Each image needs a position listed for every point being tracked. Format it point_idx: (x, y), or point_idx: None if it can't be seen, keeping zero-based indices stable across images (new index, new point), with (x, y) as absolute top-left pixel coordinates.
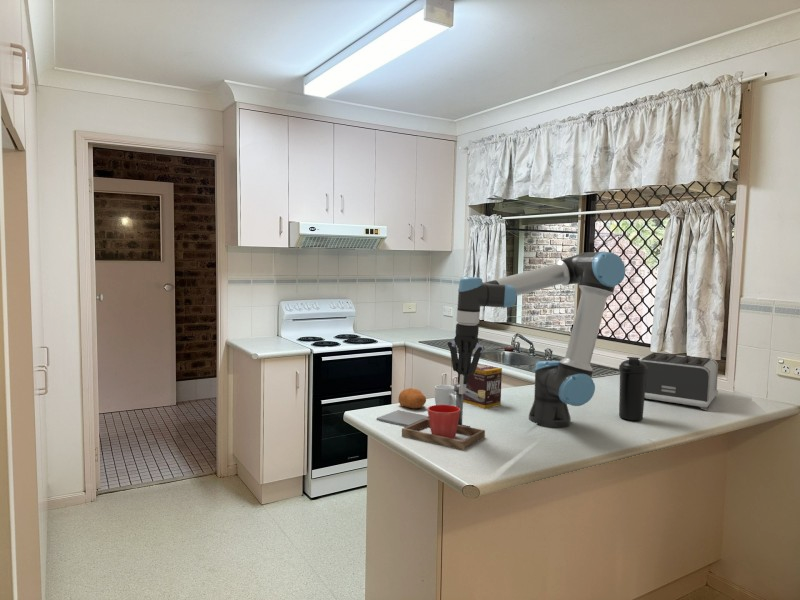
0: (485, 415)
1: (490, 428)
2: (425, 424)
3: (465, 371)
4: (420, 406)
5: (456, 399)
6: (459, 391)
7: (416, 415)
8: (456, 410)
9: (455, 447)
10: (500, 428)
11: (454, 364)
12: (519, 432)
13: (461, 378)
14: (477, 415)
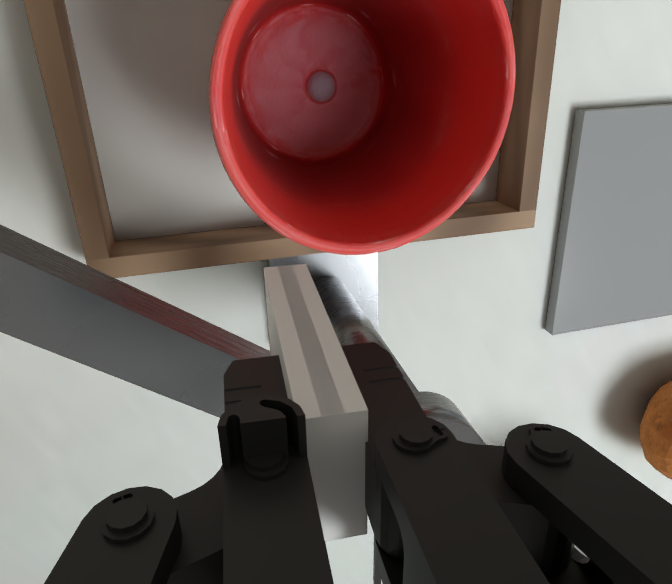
0: (336, 561)
1: (187, 425)
2: (505, 189)
3: (264, 498)
4: (646, 409)
5: (399, 369)
6: (303, 276)
7: (613, 297)
8: (300, 219)
9: None
10: (145, 464)
11: (635, 536)
12: (13, 485)
13: (317, 370)
14: (367, 534)
